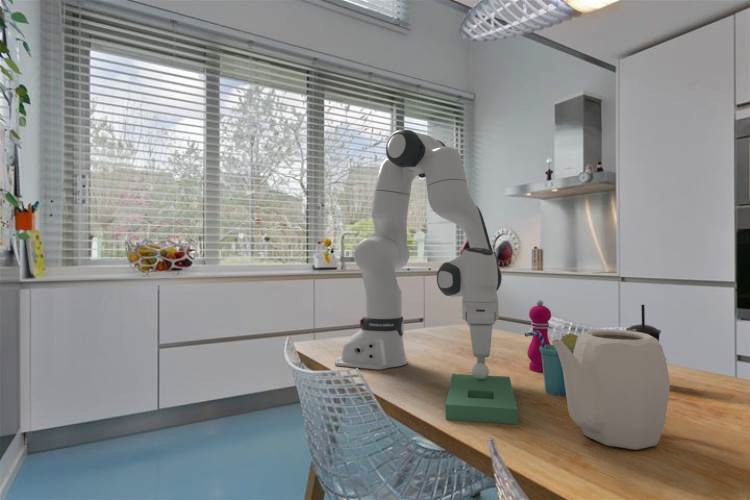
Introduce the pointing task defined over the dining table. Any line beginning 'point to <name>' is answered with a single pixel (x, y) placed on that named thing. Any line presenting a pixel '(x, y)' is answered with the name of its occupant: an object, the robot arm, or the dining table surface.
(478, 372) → the ball
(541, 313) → the pepper mill
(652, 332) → the drinking cup
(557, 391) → the cup
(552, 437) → the dining table surface
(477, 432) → the dining table surface
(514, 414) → the putting mat
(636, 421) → the watering can
